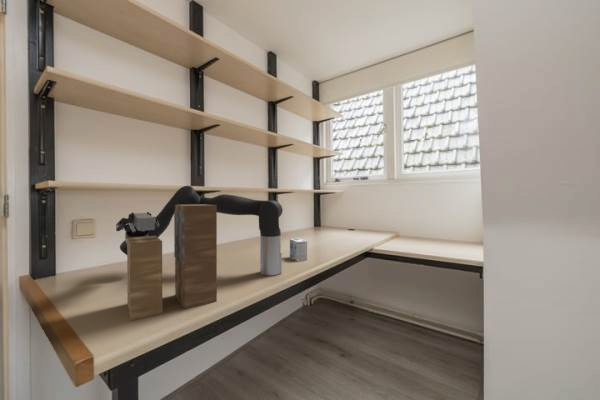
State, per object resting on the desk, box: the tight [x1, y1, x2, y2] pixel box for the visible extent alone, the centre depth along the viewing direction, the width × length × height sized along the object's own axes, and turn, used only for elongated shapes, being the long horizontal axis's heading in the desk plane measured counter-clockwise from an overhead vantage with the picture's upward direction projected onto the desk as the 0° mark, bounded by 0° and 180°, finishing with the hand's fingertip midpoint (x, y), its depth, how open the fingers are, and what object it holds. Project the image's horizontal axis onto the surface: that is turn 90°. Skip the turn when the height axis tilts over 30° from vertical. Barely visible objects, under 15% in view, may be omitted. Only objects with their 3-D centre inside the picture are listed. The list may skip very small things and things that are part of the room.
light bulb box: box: [289, 237, 308, 261], centre depth 146 cm, size 11×7×11 cm, turn 24°
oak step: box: [126, 236, 163, 321], centre depth 80 cm, size 14×8×22 cm, turn 37°
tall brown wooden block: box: [173, 204, 218, 310], centre depth 88 cm, size 14×11×32 cm
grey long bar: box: [133, 212, 155, 231], centre depth 83 cm, size 22×4×4 cm, turn 37°
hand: (140, 214), depth 88 cm, fingers closed on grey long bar, 4 cm apart
